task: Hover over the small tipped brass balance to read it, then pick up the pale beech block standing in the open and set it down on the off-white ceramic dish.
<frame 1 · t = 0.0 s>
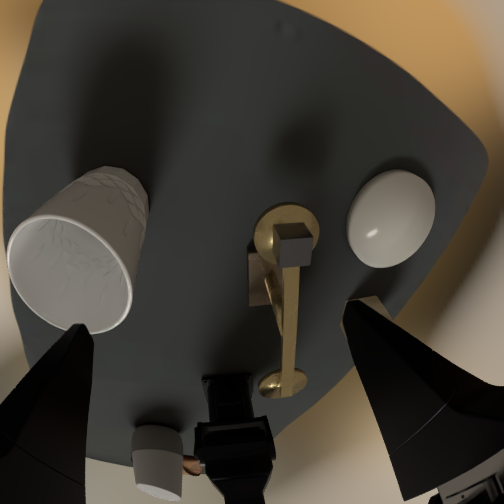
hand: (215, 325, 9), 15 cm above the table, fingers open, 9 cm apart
sunglasses case: (171, 455, 53), on the table
dish: (390, 218, 26), on the table
smart speaker: (157, 429, 43), on the table
block: (357, 310, 32), on the table
balance: (268, 273, 27), on the table
white cup: (110, 204, 21), on the table
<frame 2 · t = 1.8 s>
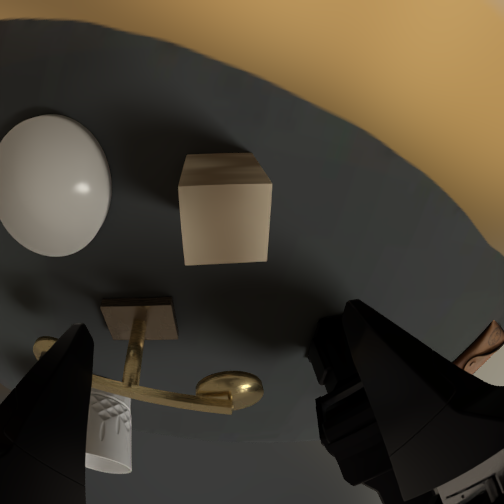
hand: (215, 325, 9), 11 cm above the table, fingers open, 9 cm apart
sunglasses case: (465, 352, 42), on the table
dish: (48, 185, 16), on the table
block: (219, 183, 18), on the table
balance: (141, 315, 23), on the table
white cup: (105, 389, 29), on the table
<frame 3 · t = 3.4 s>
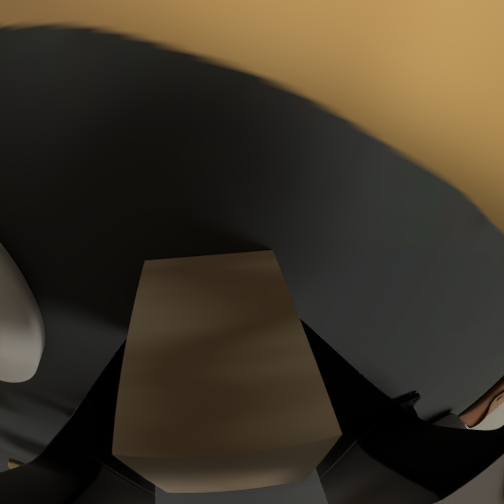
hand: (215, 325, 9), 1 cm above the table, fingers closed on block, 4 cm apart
sunglasses case: (492, 385, 33), on the table
smart speaker: (428, 424, 30), on the table
block: (213, 303, 10), on the table, touching gripper
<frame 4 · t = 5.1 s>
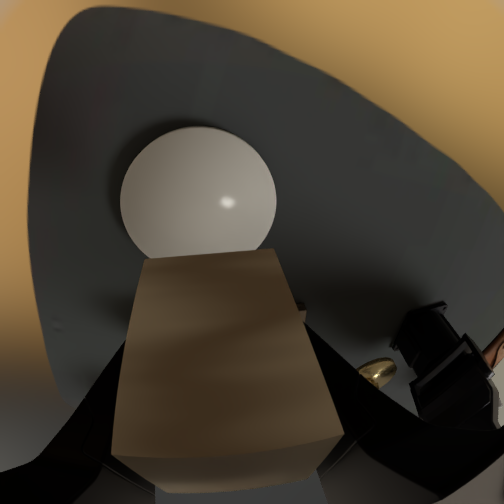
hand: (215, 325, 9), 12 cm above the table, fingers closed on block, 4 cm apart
sunglasses case: (497, 337, 42), on the table
dish: (197, 200, 19), on the table
block: (213, 302, 10), point 10 cm above the table, touching gripper
balance: (269, 322, 26), on the table
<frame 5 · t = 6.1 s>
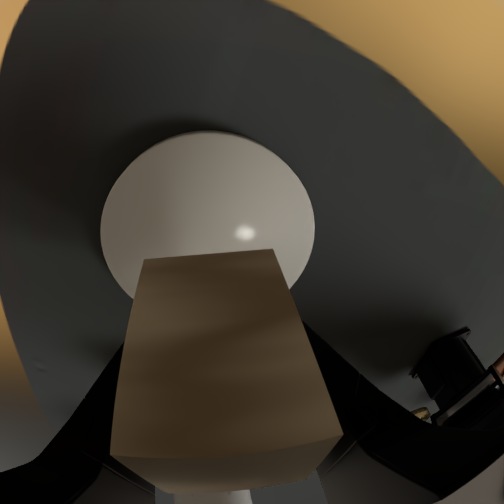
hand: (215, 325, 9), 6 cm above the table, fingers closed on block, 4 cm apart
dish: (206, 233, 14), on the table
block: (213, 302, 10), point 5 cm above the table, touching gripper
white cup: (205, 433, 27), on the table
when the fingers open (3 cm above the table, at t = 6.9 s): block drops 1 cm, resting on dish.
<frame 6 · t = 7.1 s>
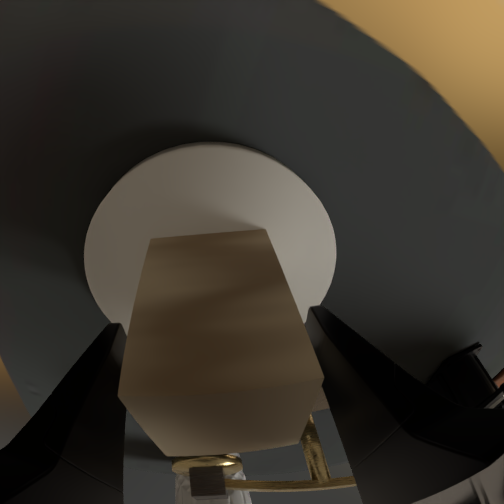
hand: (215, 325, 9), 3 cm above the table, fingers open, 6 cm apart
dish: (209, 263, 12), on the table
block: (212, 280, 11), point 1 cm above the table, touching dish
balance: (296, 392, 19), on the table
white cup: (207, 453, 25), on the table
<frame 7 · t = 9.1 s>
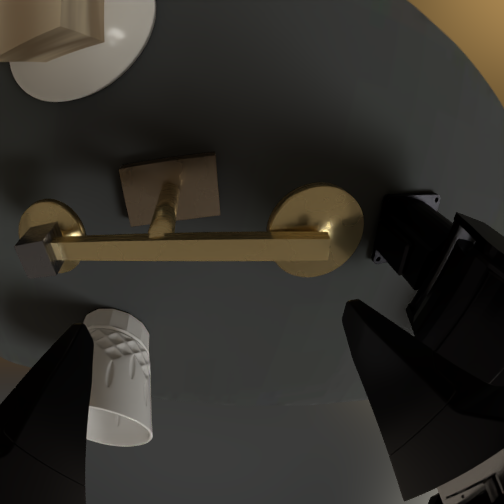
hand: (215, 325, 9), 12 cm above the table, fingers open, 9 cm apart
dish: (79, 27, 11), on the table
block: (73, 23, 10), point 1 cm above the table, touching dish
balance: (171, 186, 18), on the table
white cup: (115, 331, 24), on the table
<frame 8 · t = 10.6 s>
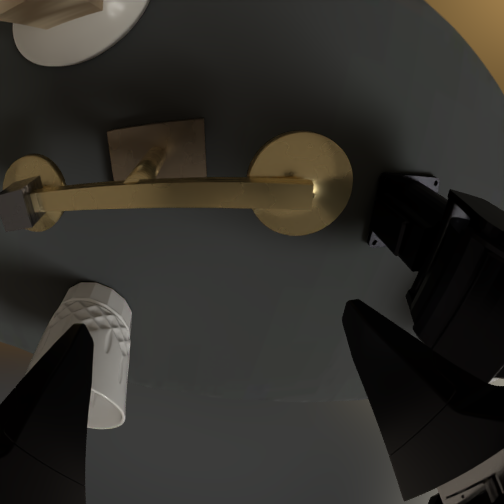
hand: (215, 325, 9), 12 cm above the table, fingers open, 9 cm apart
balance: (158, 152, 17), on the table
white cup: (98, 308, 23), on the table
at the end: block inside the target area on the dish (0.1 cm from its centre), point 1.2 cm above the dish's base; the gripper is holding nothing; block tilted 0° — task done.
